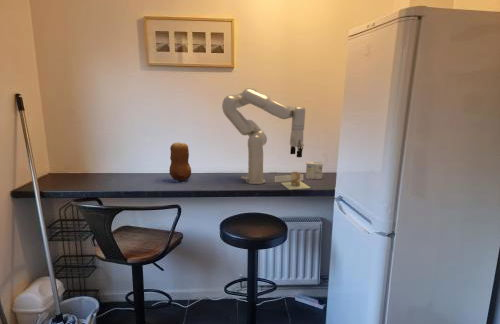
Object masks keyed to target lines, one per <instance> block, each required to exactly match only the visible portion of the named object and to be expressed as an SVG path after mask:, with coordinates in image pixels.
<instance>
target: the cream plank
mask: <svg viewBox="0 0 500 324" xmlns="http://www.w3.org/2000/svg"><path fill="white" fill-rule="evenodd" d="M291 176H292V174H289V175H275V176H274V183H285V182H291ZM303 181H304V174H300V182H303Z"/></svg>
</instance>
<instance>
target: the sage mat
mask: <svg viewBox="0 0 500 324" xmlns="http://www.w3.org/2000/svg"><path fill="white" fill-rule="evenodd" d="M280 184H281V185H282V186H284V188H286V189H288V190H289V191H290V190H291V191H292V190H305V189H311V187H310V186H309V185H307V184H306V183H304V182H303V181H300V186H292V185H291V181H288V182H280Z"/></svg>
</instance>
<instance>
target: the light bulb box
mask: <svg viewBox="0 0 500 324" xmlns="http://www.w3.org/2000/svg"><path fill="white" fill-rule="evenodd" d="M305 165H306V167H305V178H306V180H309V179H310V180H322V179H323V162H321V161H306V163H305Z"/></svg>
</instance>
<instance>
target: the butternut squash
mask: <svg viewBox="0 0 500 324" xmlns="http://www.w3.org/2000/svg"><path fill="white" fill-rule="evenodd" d="M169 148H170V157H169V158H170V166H169V171H168V172H169V175H170V176H171V178H172V180H175V181H179V182H184V181H186V180H188V179H190V178H191V176H192V168H191V166H190V165H191V164H190V163H189V156H190V153H189V151H190V150H189V146H188V144H187V143H184V142H173V143H172V144H171V145H170V147H169Z"/></svg>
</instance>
